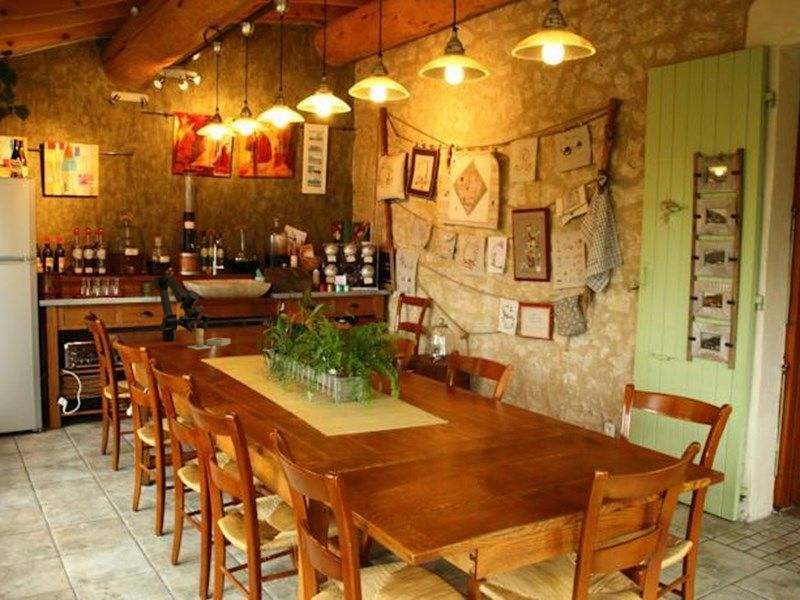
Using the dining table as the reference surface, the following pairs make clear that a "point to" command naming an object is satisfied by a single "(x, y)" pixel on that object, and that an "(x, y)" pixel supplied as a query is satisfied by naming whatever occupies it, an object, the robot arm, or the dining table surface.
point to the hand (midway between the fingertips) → (199, 331)
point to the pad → (199, 347)
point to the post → (199, 337)
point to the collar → (218, 341)
